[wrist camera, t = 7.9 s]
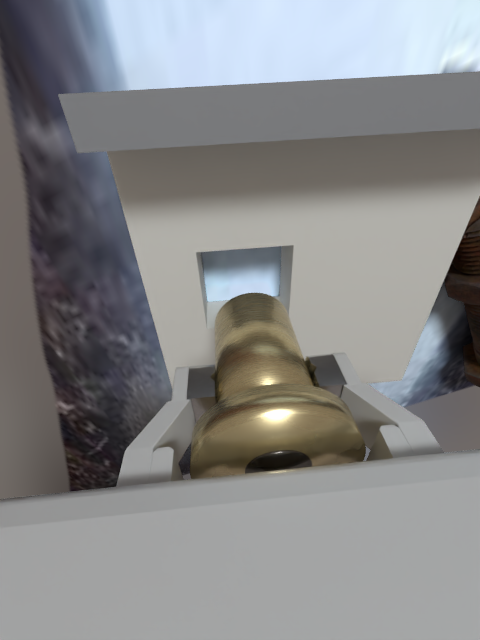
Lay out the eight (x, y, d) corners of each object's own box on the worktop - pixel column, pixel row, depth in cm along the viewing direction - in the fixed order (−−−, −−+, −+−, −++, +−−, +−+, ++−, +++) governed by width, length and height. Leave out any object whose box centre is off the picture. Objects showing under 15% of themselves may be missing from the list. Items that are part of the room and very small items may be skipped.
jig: (477, 74, 14) (616, 64, 9) (383, 353, 25) (424, 414, 20) (112, 94, 13) (57, 94, 9) (179, 371, 24) (171, 438, 20)
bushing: (309, 272, 13) (386, 407, 7) (300, 358, 16) (349, 499, 10) (190, 282, 13) (174, 428, 7) (204, 366, 16) (201, 515, 10)
